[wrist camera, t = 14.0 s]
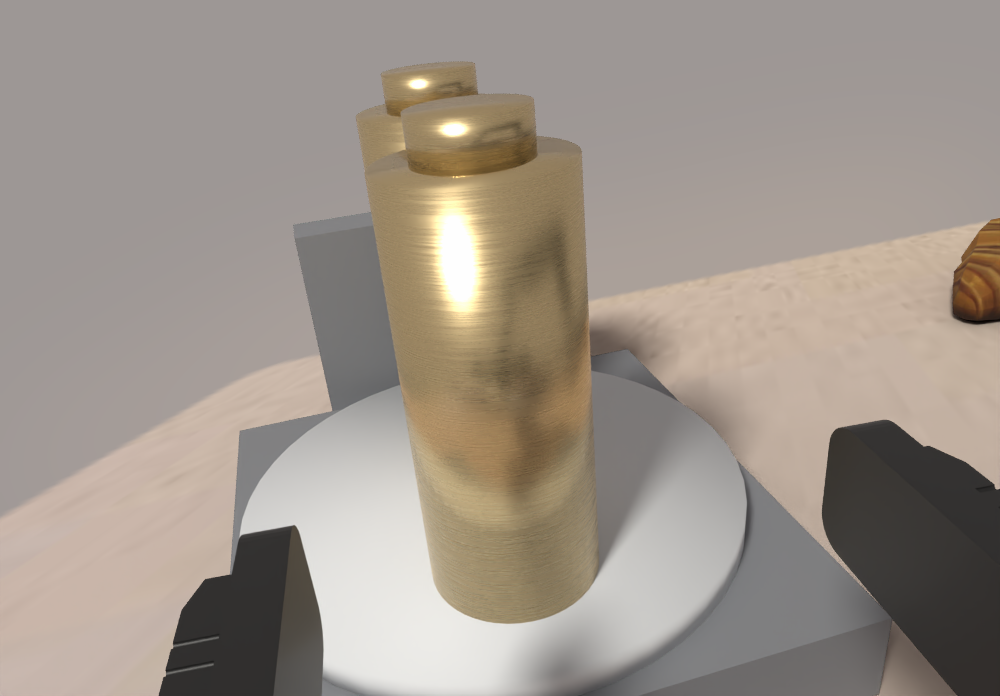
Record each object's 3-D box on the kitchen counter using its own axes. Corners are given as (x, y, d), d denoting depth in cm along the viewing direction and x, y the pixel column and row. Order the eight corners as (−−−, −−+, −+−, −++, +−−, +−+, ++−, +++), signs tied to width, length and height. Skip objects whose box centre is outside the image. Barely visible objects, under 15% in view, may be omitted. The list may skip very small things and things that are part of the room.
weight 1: (482, 377, 34) (444, 55, 28) (563, 418, 30) (539, 58, 24) (385, 424, 31) (320, 78, 25) (461, 474, 27) (406, 85, 22)
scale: (608, 379, 41) (600, 170, 36) (878, 694, 23) (938, 359, 18) (256, 455, 37) (195, 236, 32) (244, 900, 19) (101, 555, 14)
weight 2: (522, 488, 26) (483, 82, 21) (635, 558, 23) (627, 92, 17) (399, 561, 24) (315, 117, 18) (505, 654, 20) (443, 138, 14)
